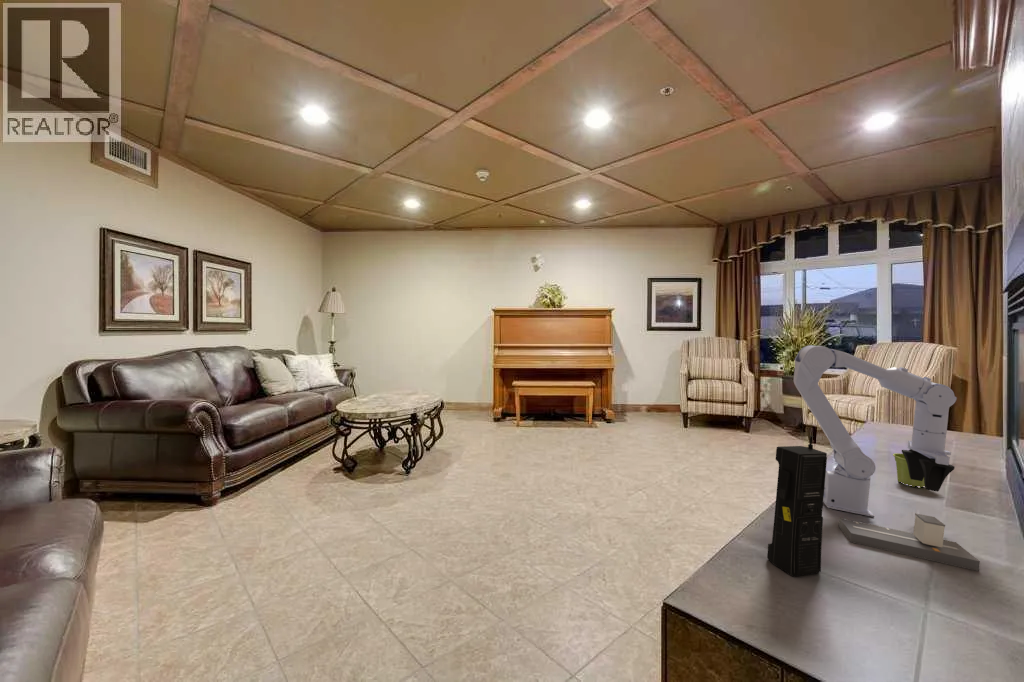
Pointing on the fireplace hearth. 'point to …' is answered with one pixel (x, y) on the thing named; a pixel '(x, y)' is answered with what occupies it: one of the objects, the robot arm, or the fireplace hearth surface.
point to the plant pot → (905, 471)
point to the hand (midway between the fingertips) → (923, 484)
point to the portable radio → (798, 510)
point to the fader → (929, 530)
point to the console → (907, 544)
